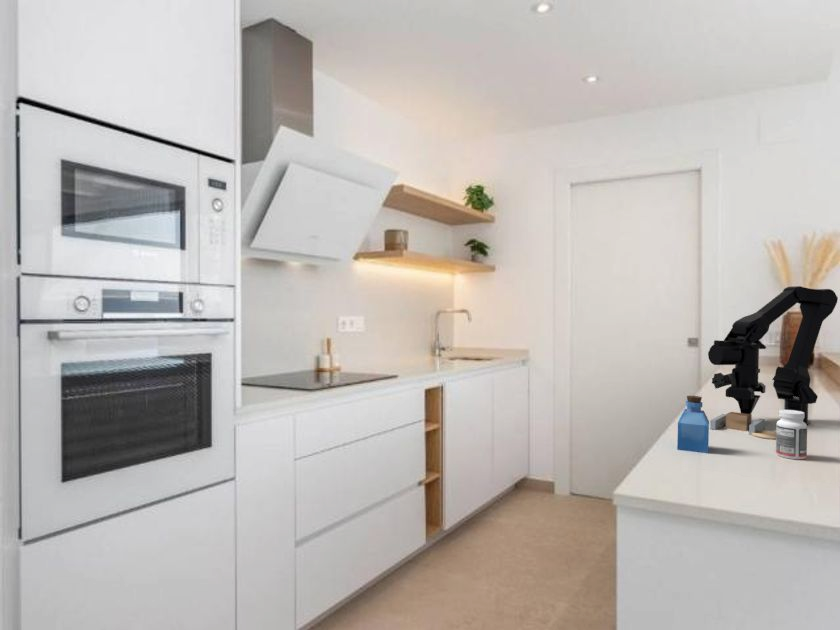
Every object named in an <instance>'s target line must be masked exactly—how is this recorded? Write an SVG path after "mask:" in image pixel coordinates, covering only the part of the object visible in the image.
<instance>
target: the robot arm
mask: <svg viewBox="0 0 840 630" xmlns="http://www.w3.org/2000/svg"><path fill="white" fill-rule="evenodd" d="M796 304H799V310H800V313H801V317H802V318H801V321H800V324H799V327H798V330H797V333H796V337H795V340H794V342H793V345H792V349H791V351H790V354H789V357H788V361H787V362H786V364H785V365H784V366H777V367H776V369H775V372H774V373H775V374H774V377H772V381H773V385H772V386H773V388H774V390H775V394H776V397H777V399H778V400H784V404H783V405H784V407H783V408H784V409H783V410H795V411H801V412H804V413H805V414H804V415H805V418H804V419H803V422H804V423H806V425H807V426H808V425H810V424H811V422H812V421H811V420H809V405H812V404H816V403H817V399H818V395H817V393H816V392H815V391H814V389H813V388H812V387H811V386H810V384H811V376H810V372H809V365H810V362H811V360H812V359H811V358H812V355H813V352H814V349H815V346H816V344H817V341H818V336H819V333H820V330H821V328H822V325H823V322H824V321H825V320H826V319H827V318H828V317H829V316H830V315H831V314H832V313H833V312H834V309H835V308H836V306H837V304H838V295H837V294H836V292H835V291H834V290H832V289H831V288H809V287H804V286H800V285H799V286H798V285H797V286H796V285H795V286H787V287H785V288H783V290H782V292H780V293H779V294H778V295H776V296H775V297H774V298H772V299H771V300H770V301H768V303H766V304H764V306H762V307H761V308H760V309H758V311H756V312H754V313H752V314H748V315H746V316H743V317H741V318H739V319H737V320H735V321H734V322H733V323H732V328H731V329H730V331H729V332H728V334H726V336H725V338H724V339H723V340H720V339H719V340H716V339H715V340H714V341H713V345H711V346H710V347H709V351H708V352H707V356H708V360H709V362H710V363H711V364H712V365H715V366H734V367H733V368H732V369H731V372H730V373H726V374H723V373H722V372H718V373H714V374H713V377H711V384H713V385H714V388H715V389H716V390H717V389H719V388H722V387H725V386H728V387H727V388H726V389H725V397H726V398H732V399H734V400H736V402H737V403H738V407H739V411H740V413H745V414H752V413H753V412H754V409H755V407H756V405H757V403H758V402H759V400H760V398H761V395H758V394H756V393H758V392H759V393H761V394H765V393H766V385H765V384H764V383H763V382H761V381H760V382H759V373H761V368H759V365H760V364H759V363H760V361H759V359H760V350H766V349H767V346H766V345H764V343H762V341H761V339H763V337H765V335H766V334H767V333H768V332H769V330H770V326H771V324H772V323H774V322H775V321H776V320H778V318H780V317H781V316H783V315H784V314H785V313H786V312H788V311H789V310H790V309H792V308H793V307H794V306H795V305H796ZM755 392H756V393H755Z"/></svg>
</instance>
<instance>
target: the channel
mask: <svg viewBox="0 0 840 630" xmlns="http://www.w3.org/2000/svg"><path fill="white" fill-rule="evenodd" d="M726 414H727V413H721V414H720V415H717V416H716V417H714V418H711V419H710V421H709V430H714V431H717V430H718V429H719V428H721V427H723V426H726ZM765 420H766V419H765V418H758V419H756V420H755V421H753V422H751V424H750V425H749V430H748V435H749V436H752V435H751V433H755V432H757V431H758V430H765V424H766V423H765V422H766V421H765Z"/></svg>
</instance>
